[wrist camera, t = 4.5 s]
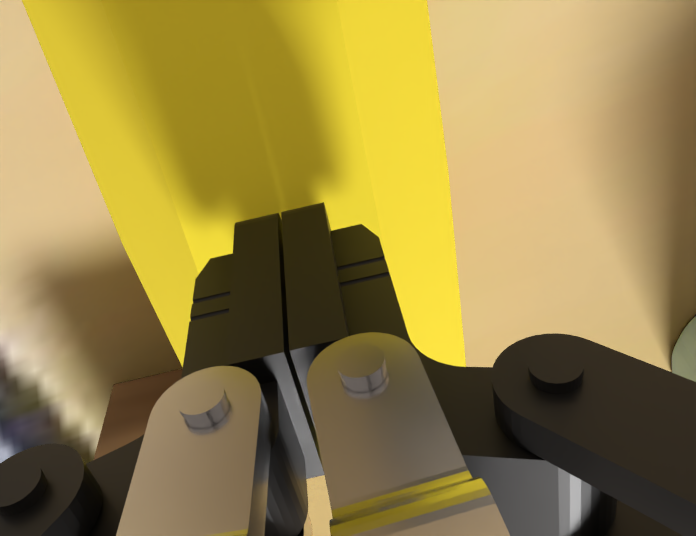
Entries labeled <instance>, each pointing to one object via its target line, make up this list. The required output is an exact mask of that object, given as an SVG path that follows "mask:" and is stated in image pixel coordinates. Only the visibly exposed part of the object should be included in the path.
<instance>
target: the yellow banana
mask: <svg viewBox="0 0 696 536" xmlns="http://www.w3.org/2000/svg"><path fill="white" fill-rule="evenodd" d="M22 1H23V4H24V6H25V9H26V11H27V14H28V16H29V18H30V21H31V23H32V26H33V28H34V31H35V33H36V35H37V38H38V40H39V43H40V45H41V48H42V50H43V52H44V55H45V57H46V60H47V62H48V64H49V67H50V69H51V72H52V74H53V77H54V79H55V81H56V84H57V86H58V89H59V91H60V94H61V96H62V98H63V101H64V103H65V106H66V108H67V111H68V113H69V115H70V118H71V120H72V123H73V125H74V128H75V130H76V132H77V135H78V137H79V140H80V142H81V145H82V147H83V149H84V152H85V154H86V157H87V159H88V161H89V164H90V166H91V169H92V171H93V174H94V176H95V178H96V181H97V183H98V186H99V188H100V191H101V193H102V195H103V198H104V200H105V203H106V205H107V208H108V210H109V212H110V215H111V217H112V220H113V222H114V225H115V227H116V229H117V232H118V234H119V237H120V239H121V242H122V244H123V246H124V248H125V250H126V252H127V254H128V257H129V259H130V261H131V263H132V265H133V267H134V269H135V271H136V273H137V275H138V277H139V279H140V281H141V283H142V285H143V287H144V289H145V291H146V293H147V296H148V298H149V300H150V302H151V304H152V306H153V308H154V310H155V312H156V314H157V316H158V318H159V320H160V322H161V324H162V326H163V328H164V330H165V332H166V334H167V337H168V339H169V341H170V343H171V345H172V347H173V349H174V351H175V353H176V355H177V357H178V359H179V361H180V363H181V365H182V367H183V362H184V356H185V349H186V342H187V335H188V328H189V322H190V321H191V319H190V314H191V307H192V304H193V293H194V286H195V279H196V278H197V276H198V275H199V274H200V272H201V271H202V269H203V268H204V267H205V265H206V264H207V263H208V261H209V260H210V258H215V257H219V256H223V255H228V254H232V253H233V241H234V226H235V223H236V222H240V221H245V220H249V219H253V218H258V217H262V216H266V215H271V214H275V213H279V215H280V217H281V212H283V211H288V210H292V209H296V208H301V207H305V206H309V205H314V204H318V203H322V202H324V204H325V208H326V211H327V215H328V219H329V223H330V228H331V231H332V230H337V229H341V228H345V227H350V226H354V225H358V224H362V225H364V226H365V227H366V228H368V229H369V230H370V231H371V232H373V233H374V234H375V235H377V236H378V237H379V239H380V243H381V246H382V249H383V253H384V256H385V260H386V263H387V266H388V269H389V273H390V276H391V279H392V282H393V286H394V289H395V292H396V296H397V299H398V302H399V306H400V309H401V312H402V316H403V319H404V322H405V326H406V329H407V332H408V335H409V338H410V340H411V342H412V343H413V344H414V346H415V347H416V348H417V349H418V350H419V351H420V352H421V353H423V354H424V355H426V356H427V357H429V358H431V359H433V360H435V361H438V362H441V363H444V364H448V365H453V366H461V367H466V362H465V351H464V340H463V329H462V318H461V306H460V295H459V284H458V273H457V262H456V251H455V240H454V229H453V218H452V207H451V196H450V185H449V174H448V166H447V158H446V150H445V142H444V134H443V126H442V118H441V110H440V101H439V93H438V85H437V77H436V69H435V61H434V53H433V45H432V37H431V29H430V21H429V13H428V5H427V0H22ZM281 220H282V219H281Z"/></svg>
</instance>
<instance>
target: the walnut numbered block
mask: <svg viewBox="0 0 696 536" xmlns="http://www.w3.org/2000/svg"><path fill="white" fill-rule="evenodd" d="M181 376H182V369H179V370H175V371H170V372H166V373H162V374H157V375H153V376H149V377H144V378H140V379H136V380H131V381H127V382H123V383H118V384H114V386H113V389H112V393H111V397H110V401H109V404H108V408H107V412H106V416H105V419H104V423H103V427H102V430H101V434H100V438H99V442H98V445H97V449H96V453H95V457H94V460H95V459H97V458H99V457H101V456H103V455H106V454H108V453H110V452H112V451H114V450H116V449H118V448H120V447H122V446H124V445H126V444H128V443H130V442H132V441H134V440H136V439H137V438H139V437H140V436H142V435H143V434H145V431H146V427H147V424H148V420H149V417H150V414H151V411H152V409H153V407H154V405H155V404H156V402H157V400H158V399H159V398H160V397H161V395H162V394H163V393H164V392H165V391H166V390H167V389H168V388H169V387H171V386H172V385H173V384H175V383H176V382H177V381H179V380H181Z"/></svg>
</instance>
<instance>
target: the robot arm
mask: <svg viewBox="0 0 696 536" xmlns="http://www.w3.org/2000/svg"><path fill="white" fill-rule="evenodd" d="M281 219H282V220H281ZM190 319H191V321H190V322H189V328H188V335H187V342H186V349H185V356H184V362H183V369H182V376H181V380H179V381H177V382H176V383H175V384H173V385H172V386H171V387H169V388H168V389H167V390H166V391H165V392H164V393H163V394H162V395H161V397H160V398H159V399H158V400H157V402H156V404H155V405H154V407H153V409H152V411H151V414H150V417H149V420H148V424H147V427H146V431H145V434H143V435H142V436H140V437H139V438H137V439H136V440H134V441H132V442H130V443H128V444H126V445H124V446H122V447H120V448H118V449H116V450H114V451H112V452H110V453H108V454H106V455H103V456H101V457H99V458H97V459H95V460H93V461H91V462H89V463H87V464H86V463H85V462H84V460H83V459H82V457H81V456H80V455H79V453H78V452H77V451H76V450H74V449H73V448H71V447H69V446H66V445H62V444H45V445H40V446H36V447H33V448H29V449H27V450H24V451H22V452H20V453H17V454H15V455H14V456H12V457H10V458H8V459H6V460H5V461H3V462H2V463H0V536H313V532H312V524H311V521H310V517H309V515H308V496H307V483H306V479H308V478H313V477H317V476H322V475H325V480H326V485H327V490H328V495H329V500H330V505H331V510H332V516H333V519H331V520H330V533H331V536H696V382H695V381H692V380H689V379H687V378H684V377H682V376H679V375H677V374H674V373H672V372H669V371H666V370H664V369H661V368H659V367H656V366H654V365H651V364H649V363H646V362H643V361H641V360H638V359H636V358H633V357H631V356H628V355H626V354H623V353H620V352H618V351H615V350H613V349H610V348H608V347H605V346H603V345H600V344H597V343H595V342H592V341H590V340H587V339H584V338H581V337H577V336H572V335H567V334H542V335H535V336H532V337H528V338H525V339H522V340H520V341H517V342H516V343H514V344H512V345H510V346H509V347H508V348H506V349H505V350H504V351H503V352H502V353H501V354H500V355H499V357H498V358H497V359H496V361H495V363H494V365H493V368H489V367H461V366H453V365H448V364H444V363H441V362H438V361H435V360H433V359H431V358H429V357H427V356H426V355H424V354H423V353H421V352H420V351H419V350H418V349H417V348H416V347H415V346H414V344H413V343H412V342H411V340H410V338H409V335H408V332H407V329H406V326H405V322H404V319H403V316H402V312H401V309H400V306H399V302H398V299H397V296H396V292H395V289H394V286H393V282H392V279H391V276H390V273H389V269H388V266H387V263H386V260H385V256H384V253H383V249H382V246H381V243H380V239H379V237H378V236H377V235H375V234H374V233H373V232H371V231H370V230H369V229H368V228H366V227H365V226H364V225H362V224H358V225H354V226H350V227H345V228H341V229H337V230H332V231H331V228H330V223H329V219H328V215H327V211H326V208H325V204H324V202H322V203H318V204H314V205H309V206H305V207H301V208H296V209H292V210H288V211H283V212H281V217H280V215H279V213H275V214H271V215H266V216H262V217H258V218H253V219H249V220H245V221H240V222H236V223H235V226H234V241H233V253H232V254H228V255H223V256H219V257H215V258H210V260H209V261H208V263H207V264H206V265H205V267H204V268H203V269H202V271H201V272H200V274H199V275H198V276H197V278H196V279H195V286H194V293H193V304H192V307H191V314H190Z"/></svg>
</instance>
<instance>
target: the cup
mask: <svg viewBox="0 0 696 536" xmlns="http://www.w3.org/2000/svg"><path fill="white" fill-rule="evenodd" d="M672 373H674V374H677V375H679V376H682V377H684V378H687V379H689V380H692V381H695V382H696V316H695V317H694V318H693V319H692V320H691V321H690V322H689V323H688V325H687V326H686V327H685V329H684V330H683V332H682V333H681V335H680V337H679V339H678V341H677V343H676V345H675V347H674V350H673V353H672Z"/></svg>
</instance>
